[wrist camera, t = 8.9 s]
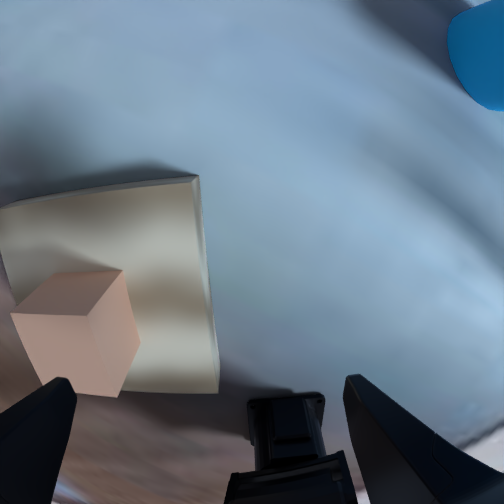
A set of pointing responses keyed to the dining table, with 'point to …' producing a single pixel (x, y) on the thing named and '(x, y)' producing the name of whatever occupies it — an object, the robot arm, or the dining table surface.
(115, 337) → the cube
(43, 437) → the robot arm
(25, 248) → the plinth
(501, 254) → the dining table surface
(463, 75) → the mug
